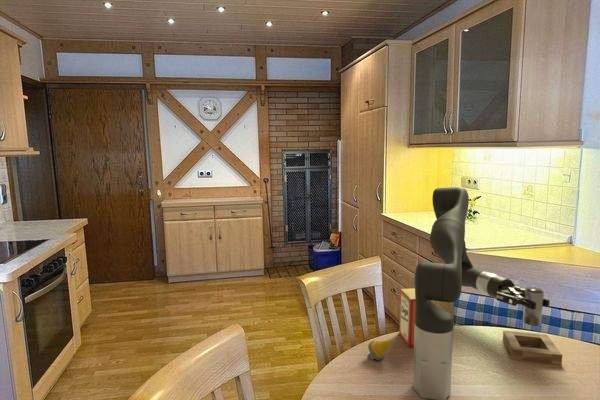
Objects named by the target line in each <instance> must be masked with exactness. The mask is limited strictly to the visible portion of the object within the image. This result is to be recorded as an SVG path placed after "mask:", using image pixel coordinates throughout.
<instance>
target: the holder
mask: <svg viewBox="0 0 600 400" xmlns="http://www.w3.org/2000/svg"><path fill="white" fill-rule="evenodd" d="M502 332H503V333H502V341H503V342H504V344H505V347H506V349H507V350H508V352H509V355H510V356H511V359H512V360H516V361H517V360H518V361H522V362H523V361H525V362H530V363H532V362H533V363H538V364H539V363H541V364H549V365H557V366H562V365H563V364H562V362H563V354H562V353H561V352H560V350H559V349H558V347H557V346H556V345H555V343H554V341H552V340H551V338H550V337H549V335H548V334H541V333H540V334H539V333H532V332H521V331H513V330H512V331H510V330H503V331H502ZM526 346H527V347H526ZM529 346H530V347H529ZM538 347H539V348H538Z"/></svg>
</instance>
